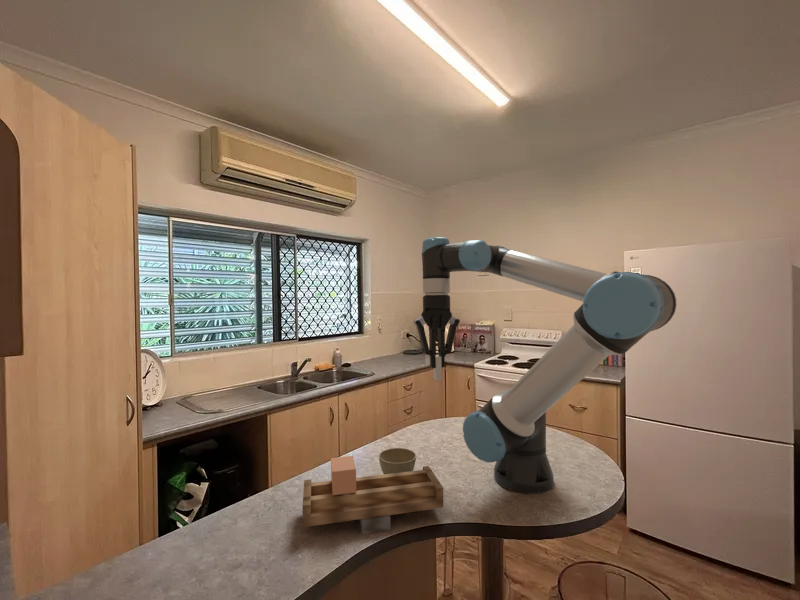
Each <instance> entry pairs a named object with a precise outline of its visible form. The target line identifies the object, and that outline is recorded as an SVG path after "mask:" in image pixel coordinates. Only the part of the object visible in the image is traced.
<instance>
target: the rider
mask: <svg viewBox="0 0 800 600" xmlns="http://www.w3.org/2000/svg"><path fill="white" fill-rule="evenodd" d="M330 466H331V468H330V472H331V475H330V476H331V477H330V478H331V480H330V481H332V493H333V495H339V494H347V493H355V492H356V478H357V468H356V463H355V459H354V455H350V456H349V455H348V456H340V457H339V456H338V457H331V458H330Z"/></svg>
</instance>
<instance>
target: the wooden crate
mask: <svg viewBox="0 0 800 600" xmlns="http://www.w3.org/2000/svg"><path fill="white" fill-rule="evenodd" d="M303 482H304V483H303V495H302V527H303V528H306V527H313V526H321V525H322V526H323V525H327V524H334V523H336V524H337V523H343V522H349V521H356V520H359V525H360V529H361V534H362V535H369V534H376V533H381V532H389V531H392V530H391V516H393V515H400V514H406V513H407V514H408V513H414V512H421V511H422V512H423V511H429V510H430V511H431V510H436V509H444V487H443V485H442V484H441V481H439V479H438V477H437V476H436V474H435V473H434V471H433V470H432V469H431V467H430V465H428V466H422V469H420V470H419V469H417V470H413V471H409V472H401V473H392V474H383V473H382V474H377V475H376V474H375V475H367V476H359V477H358V476H356V492H355V493H347V494H339V495H333V493H332V481H331V480H323V481H315V482H312V479H304V481H303Z"/></svg>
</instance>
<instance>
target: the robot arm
mask: <svg viewBox="0 0 800 600" xmlns="http://www.w3.org/2000/svg"><path fill="white" fill-rule="evenodd" d="M421 248H422V249H421V260H422V261H421V262H422V264H421V265H422V293H423V294H424V295H423V297H422V313H421V316H420V317H418V318H417V319H414V320H413V324H414V325H415V327H416V328H417V331H418V336H419V341H420V344H421V348H422V352H423V353H424V354H425V355H428V356H429V366H430V368H431V369H433V370H432V371H433V380H435V381H442V380H443V379H442V378H443V376H442V370H443V369H442V368H445V364H446V363H445V362H446V361H445V358H446V356H447V355H448V354H451V353H452V349H453V345H454V340H455V336H456V330H457V327H458V325H459V324H460V319H459V318H456V317H454V316H453V314H452V313H453V312H451V296H450V293H451V282H450V281H451V279H450V276H451V273H452V272H453V273H455V272H478V273H479V272H481V273H490V274H493V275H497V276H500V277H502V278H503V277H504V278H507V279H510V280H514V281H516V282H519V283H523V284H526V285H529V286H533V287H536V288H539V289H542V290H546V291H548V292H552V293H554V294H557V295H561V296H564V297H567V298H570V299H574V300H576V301H580V302H582V304H581V305H580V306H579V307H578V308H577V310H576V311H574V312H573V314H572V315H573V318H572V319H573V325H572V326H571V327H570V328H569V329H568V330H567V331H566V332H565V333H564V334H563V335H562V336H561V337H560V338H559V339H558V340H557V341H556V342H555V343H554V344H553V345H552V346H551V347H550V348H549V349H548V350H547V351H546V352H545V353H544V354H543V355H542V356H541V357H540V359H538V360H537V361H536V362H535V363H534V364H533V365H532V366H531V367H530V369H528V370H527V371H526V373H525V374H523V376H522V377H520V379H519V380H517V381H516V382H515V383H514V385H513V386H511V388H510V389H509V390H508V391H502V392H498V393H496V394H494V395H493V396H492V397H491V398H490V399H489V400H488V402H486V403H485V404H484V405H483V406H482V407H481V408H480V409H478V410H476V411H475V410H474V411H472V412H471V413H469V414H467V416H466V417H465V419H464V420H463V423H462V432H463V439H464V443H465V444H466V446H467V448H468V450H469V451H470V452H471V454H472V455H474V457H476V458H477V459H478V460H480V461H482V462H485V463H494V462H495V463H494V469H493V476H494V480H495V481H496V482H497V483H498V484H499V485H501V486H502V487H503V488H505V489H508V490H511V491H513V492H517V493H522V494H542V493H545V492H547V491H550V490H551V489H552V488H553V487H554V483H555V482H554V472H553V470H552V467H551V463H550V461H549V458H548V455H547V421H546V420H547V412H548V410H550V409H551V408H552V407H554V406H555V404H557V402H558V401H560V400H561V399H562V398H563V397H565V395H566V394H567V393H569V392H570V391H571V390H572V389H574V387H576V386H577V385H578V384H579V383H580V382H581V381H583V379H585V377H587V376H588V375H589V374H590V373H591V372H592V371H593V370H595V368H597V367H598V366H599V365H600V364H601V363H602V362H603V361H605V360H606V359H607V358H608V357H609V356H611V355H612V356H623V355H624V354H625V353H627V352H628V351H629V350H630V349H632V348H633V347H634V345H636V344H638V342H640V341H641V340H642V339H643V338H644V337H645V336H647V334H649V333H651V332H653V331H657V330H658V329H661V328H663V327H664V326H666V325H668V323H669V322H670V321H671V320H672V318H673V316H674V315H675V313H676V309H677V304H678V303H677V297H676V294H675V292H674V290H673V289H672V287H671V286H670V285H669V284H668V283H667V282H666V281H665V280H663V279H661V278H659V277H657V276H654V275H650V274H641V273H638V272H631V271H622V272H619V271H617V270H614V271H611V272H609V273H606V272H602V271H601V272H600V271H597V270H595V269H593V270H592V269H590V268H585V267H582V266H576V265H574V264H569V263H565V262H562V261H559V260H558V261H557V260H553V259H549V258H545V257H542V256H538V255H537V256H536V255H533V254H530V253H525V252H521V251H517V250H514V249H513V250H512V249H509V248H507V247H504V246H501V245H492V244H488V243H486V241H485V240H482V239H478V240H477V239H475V240H474V239H469V240H467V241H460V242H453V243H450V240H449V238H448V237H443V236H442V237H441V236H438V237H437V236H436V237H428V238H426V239H424V240H423V241H422V247H421ZM448 323H449V327H448V331H447V336H446V333H445V332H446V326H447V325H448ZM425 324H426V325H427V328H428V339H427V335H426V331H425V327H424V325H425ZM428 340H429V341H428ZM437 350H438V351H437ZM437 352H438V353H437Z"/></svg>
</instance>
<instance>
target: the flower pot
mask: <svg viewBox="0 0 800 600" xmlns="http://www.w3.org/2000/svg"><path fill="white" fill-rule="evenodd" d="M416 459H417V454H416V452H415V451H414V450H411V449H409V448H404V447H392V448H387V449H383V450H382V451H380V452H379V454H378V460H379V461H378V462H379V465H380V468H381V471H382V475H383V474H392V473H401V472H409V471H414V467H415V465H416V461H417V460H416Z"/></svg>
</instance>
